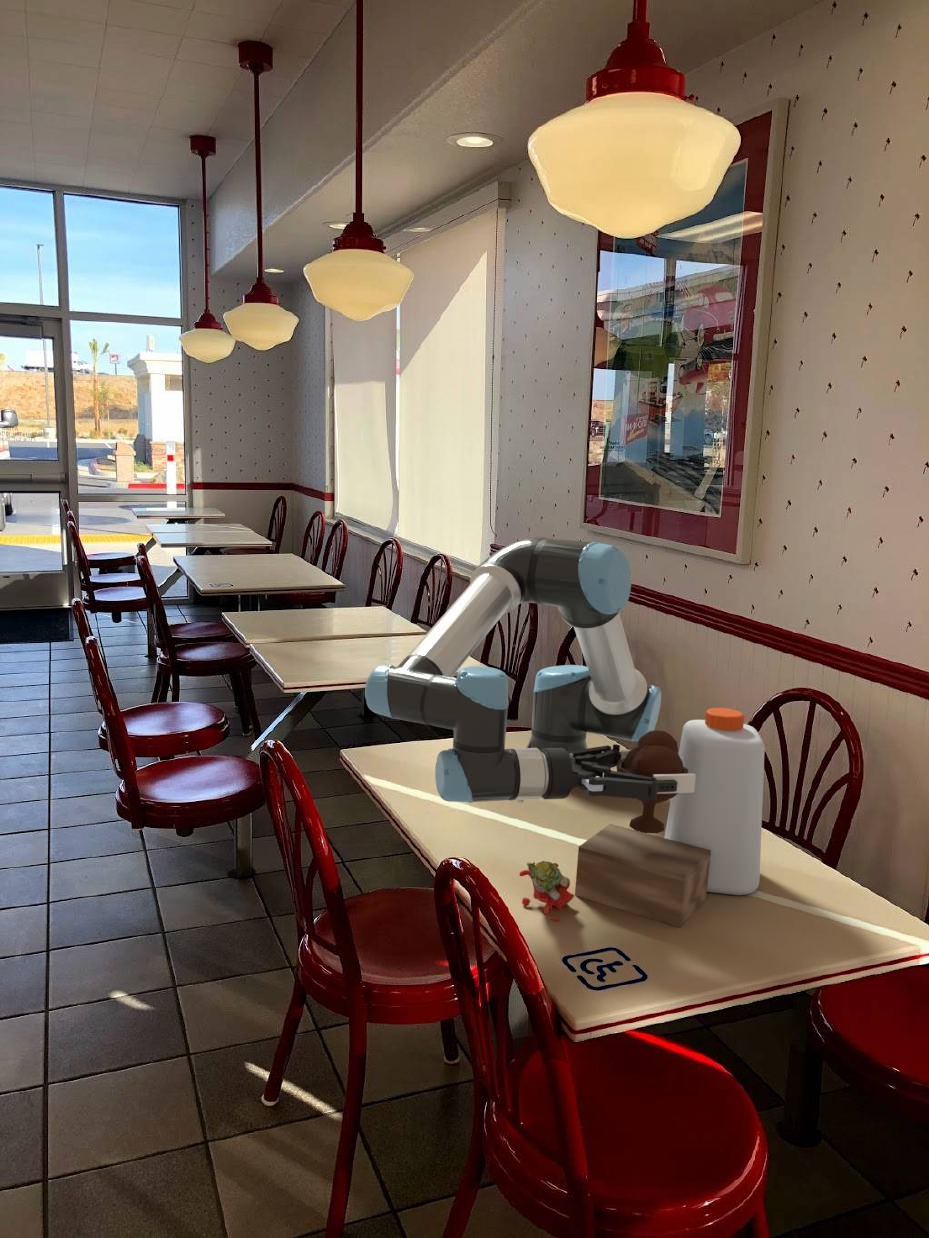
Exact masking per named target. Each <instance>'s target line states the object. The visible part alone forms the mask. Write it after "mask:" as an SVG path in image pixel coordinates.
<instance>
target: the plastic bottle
mask: <svg viewBox="0 0 929 1238" xmlns="http://www.w3.org/2000/svg"><path fill="white" fill-rule="evenodd" d="M704 717H705V719H690V720H689V721H687V722H686V723H684V725H683V727H682V732H681V737H680V744H679V748H678V754H679V756H680V758H681V760H682V762H683V767H685V768H687V769H688V774H689V773H694V774H695V775H696V779H695V789H694V793H678V794H677V795H676V796H674V797H673V798H671V799H670V802H669V808H668V812H667V814H668V815H667V820H666V826H665V830H664V836H663V838H666V839H670V840H674V841H677V842H681V843H685V844H689V845H693V846H696V847H700V848H704V849H708V850H711V856H710V865H709V875H708V884H707V892H708V893H714V894H715V893H716V894H723V895H724V894H725V895H734V896H743V895H750V894H751V893H754V892H755V891H757V889H758V887H759V885H760V876H761V848H762V847H761V846H762V825H763V822H762V821H763V820H762V819H763V797H764V795H763V794H764V775H765V773H764V771H765V748H766V747H765V744H764V741H763V739H762V737H761V736H760V733H759V732H758V731H757V729H756V728H755V727H754V726H751V725H749V724H746V723H745V715H744V713H742V712H741V711H739V710H736V709H733V708H725V707H712V708H709V709H707V710H706V711H705V716H704Z"/></svg>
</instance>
